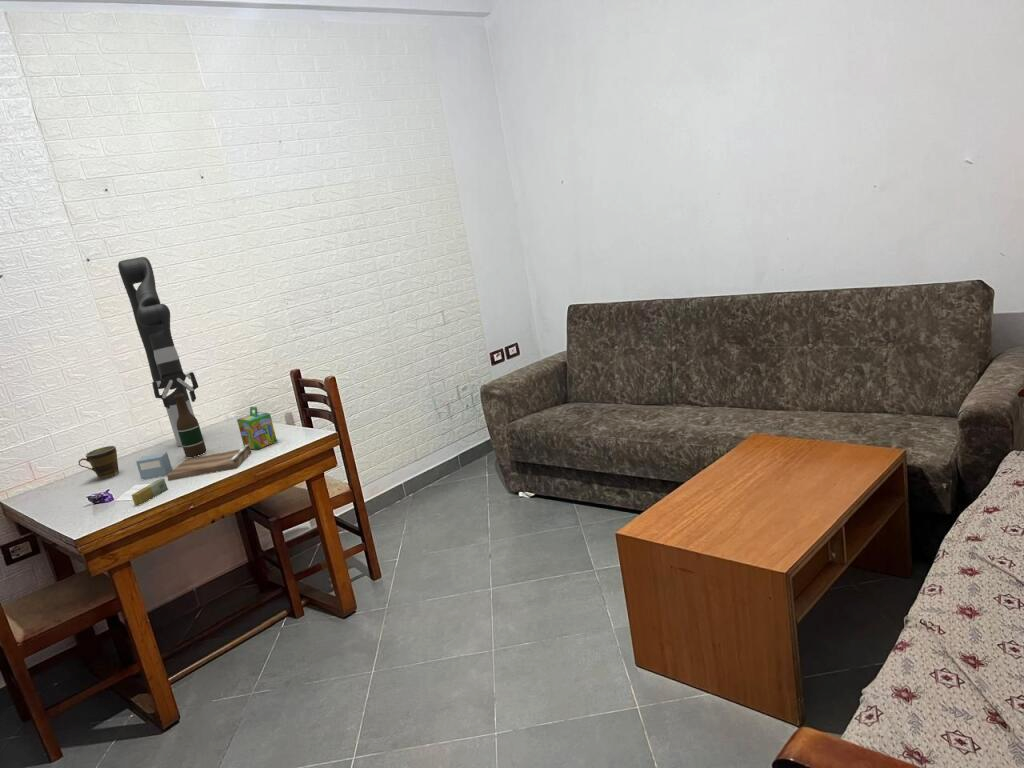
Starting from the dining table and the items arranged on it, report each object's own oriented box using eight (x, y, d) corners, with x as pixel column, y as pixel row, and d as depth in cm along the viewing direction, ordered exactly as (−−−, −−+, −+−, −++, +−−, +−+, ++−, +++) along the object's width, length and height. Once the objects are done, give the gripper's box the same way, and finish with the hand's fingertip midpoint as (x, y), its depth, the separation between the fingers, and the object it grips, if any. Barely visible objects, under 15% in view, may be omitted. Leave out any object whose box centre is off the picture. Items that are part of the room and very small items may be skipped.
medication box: (162, 490, 243) (158, 479, 242) (168, 489, 242) (165, 478, 241) (134, 506, 232) (130, 494, 231) (141, 505, 231) (136, 494, 230)
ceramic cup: (119, 469, 277) (110, 444, 275) (127, 472, 270) (119, 447, 268) (81, 482, 269) (73, 456, 266) (89, 486, 262) (80, 460, 259)
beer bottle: (211, 449, 281) (193, 390, 275) (200, 456, 273) (182, 395, 268) (192, 452, 282) (174, 393, 276) (181, 459, 274) (163, 398, 269)
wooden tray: (187, 464, 267) (184, 456, 266) (251, 452, 266) (249, 444, 266) (168, 480, 251) (165, 471, 251) (236, 468, 251) (234, 459, 250)
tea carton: (148, 474, 263) (142, 456, 261) (172, 470, 263) (167, 452, 261) (141, 480, 258) (135, 461, 256) (166, 475, 258) (160, 457, 256)
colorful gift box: (243, 448, 274) (233, 411, 270) (265, 439, 280) (255, 403, 277) (256, 450, 268) (246, 412, 264) (278, 441, 274) (268, 404, 271)
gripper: (186, 356, 265) (199, 399, 267) (144, 366, 258) (158, 410, 260) (190, 355, 259) (203, 399, 261) (147, 365, 251) (161, 410, 253)
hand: (181, 405), depth 260 cm, fingers open, 8 cm apart
